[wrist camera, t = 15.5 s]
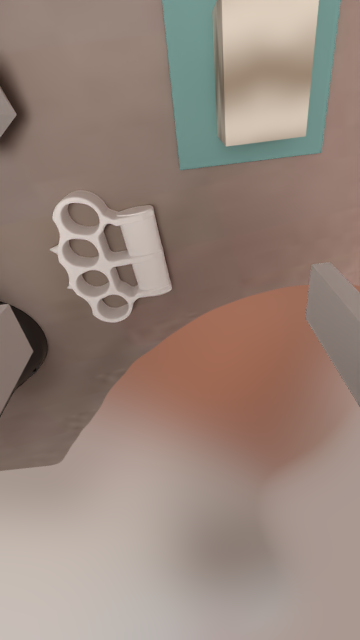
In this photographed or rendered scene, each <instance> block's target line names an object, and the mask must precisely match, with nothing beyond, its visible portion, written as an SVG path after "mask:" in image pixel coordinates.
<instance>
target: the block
mask: <svg viewBox="0 0 360 640" xmlns="http://www.w3.org/2000/svg"><path fill="white" fill-rule="evenodd" d="M318 6H319V0H217V1H216V4H215V6H214V8H213V11H212V20H213V44H214V68H215V93H216V117H217V136H218V137H219V139H220V140H221V141H222V142H223V144H224V145H225V146H234V145H242V144H250V143H258V142H265V141H273V140H281V139H289V138H297V137H304V136H306V129H307V119H308V108H309V98H310V88H311V78H312V67H313V57H314V47H315V37H316V27H317V16H318Z"/></svg>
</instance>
